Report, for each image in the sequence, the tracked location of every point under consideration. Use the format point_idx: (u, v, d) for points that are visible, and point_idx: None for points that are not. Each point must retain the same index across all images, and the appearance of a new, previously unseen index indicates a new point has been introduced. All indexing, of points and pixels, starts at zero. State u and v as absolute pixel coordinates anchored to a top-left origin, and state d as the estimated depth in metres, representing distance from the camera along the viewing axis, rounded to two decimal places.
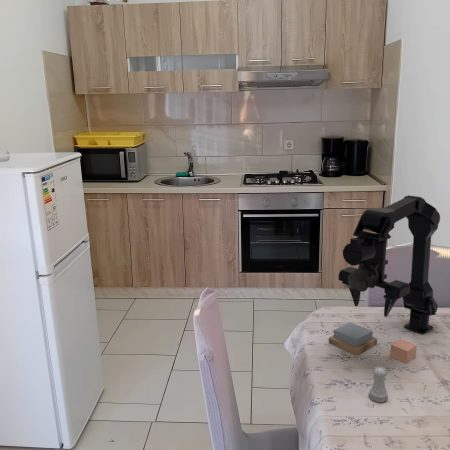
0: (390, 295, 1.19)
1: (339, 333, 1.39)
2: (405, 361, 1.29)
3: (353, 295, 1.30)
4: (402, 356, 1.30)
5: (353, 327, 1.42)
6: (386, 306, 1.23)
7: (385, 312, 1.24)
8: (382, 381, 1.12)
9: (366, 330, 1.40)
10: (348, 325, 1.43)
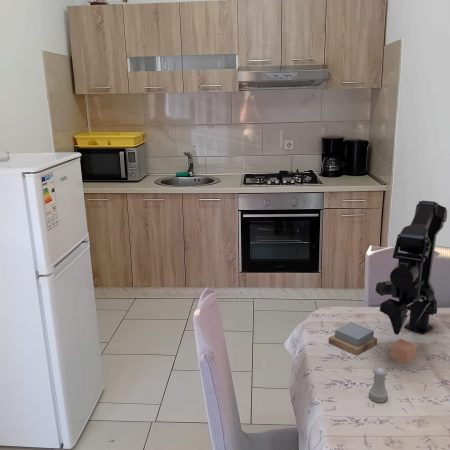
0: None
1: (340, 333, 1.39)
2: (405, 361, 1.29)
3: None
4: (402, 356, 1.30)
5: (354, 327, 1.41)
6: None
7: None
8: (382, 381, 1.12)
9: (367, 330, 1.39)
10: (349, 325, 1.43)
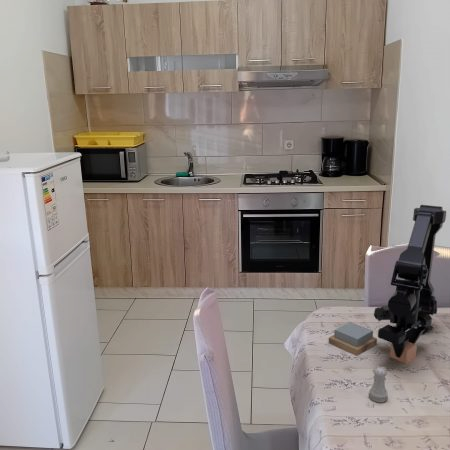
0: None
1: (340, 333, 1.39)
2: (405, 361, 1.29)
3: None
4: (402, 356, 1.30)
5: (354, 327, 1.42)
6: None
7: None
8: (382, 381, 1.12)
9: (366, 330, 1.40)
10: (349, 325, 1.43)
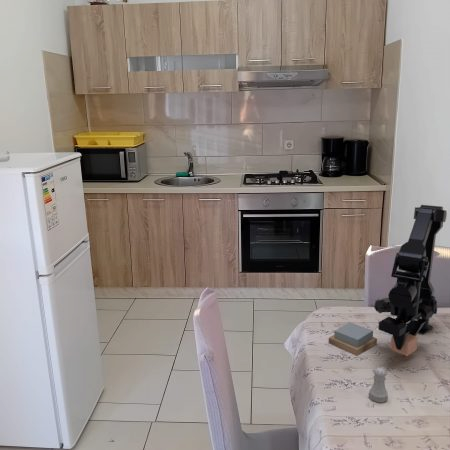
0: None
1: (340, 334, 1.38)
2: (406, 353, 1.29)
3: None
4: (403, 348, 1.29)
5: (354, 327, 1.41)
6: None
7: None
8: (382, 381, 1.12)
9: (366, 330, 1.39)
10: (348, 325, 1.43)
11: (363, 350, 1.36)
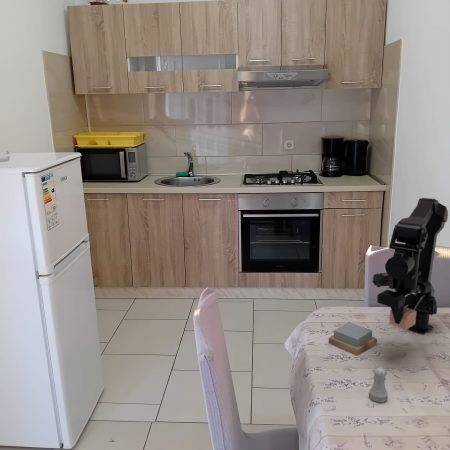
0: None
1: (339, 333, 1.38)
2: (405, 327, 1.27)
3: None
4: (402, 322, 1.28)
5: (353, 327, 1.41)
6: None
7: None
8: (382, 381, 1.12)
9: (366, 330, 1.39)
10: (348, 325, 1.43)
11: (363, 350, 1.36)
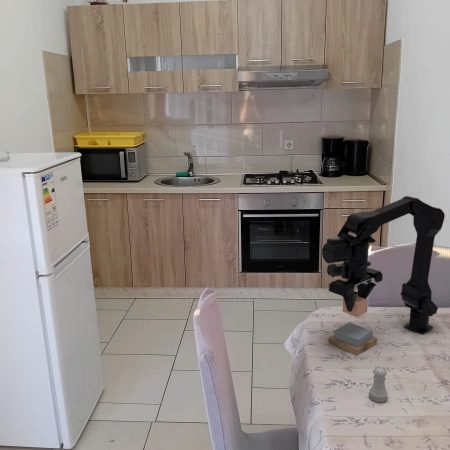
0: None
1: (340, 334, 1.38)
2: (356, 314, 1.35)
3: None
4: (353, 310, 1.35)
5: (353, 327, 1.41)
6: None
7: None
8: (382, 381, 1.12)
9: (366, 330, 1.39)
10: (348, 325, 1.42)
11: (363, 350, 1.36)
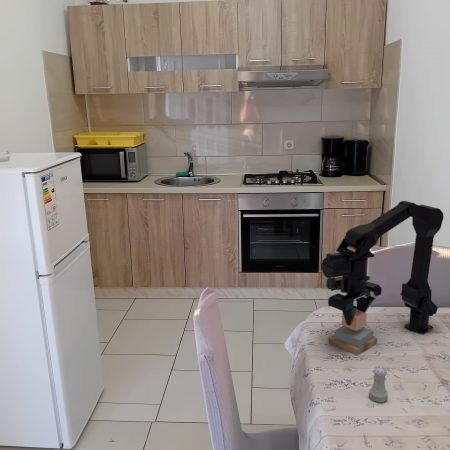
0: None
1: (340, 334, 1.38)
2: (355, 328, 1.36)
3: None
4: (352, 324, 1.36)
5: None
6: None
7: None
8: (382, 381, 1.12)
9: (366, 330, 1.39)
10: None
11: (363, 350, 1.36)
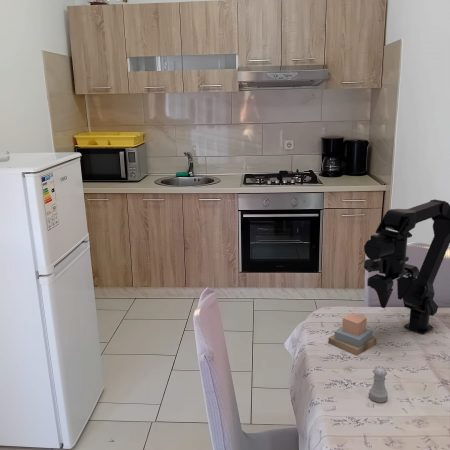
0: None
1: (340, 334, 1.38)
2: (356, 333, 1.36)
3: None
4: (353, 329, 1.37)
5: None
6: None
7: None
8: (382, 381, 1.12)
9: (366, 330, 1.40)
10: None
11: (363, 350, 1.36)
